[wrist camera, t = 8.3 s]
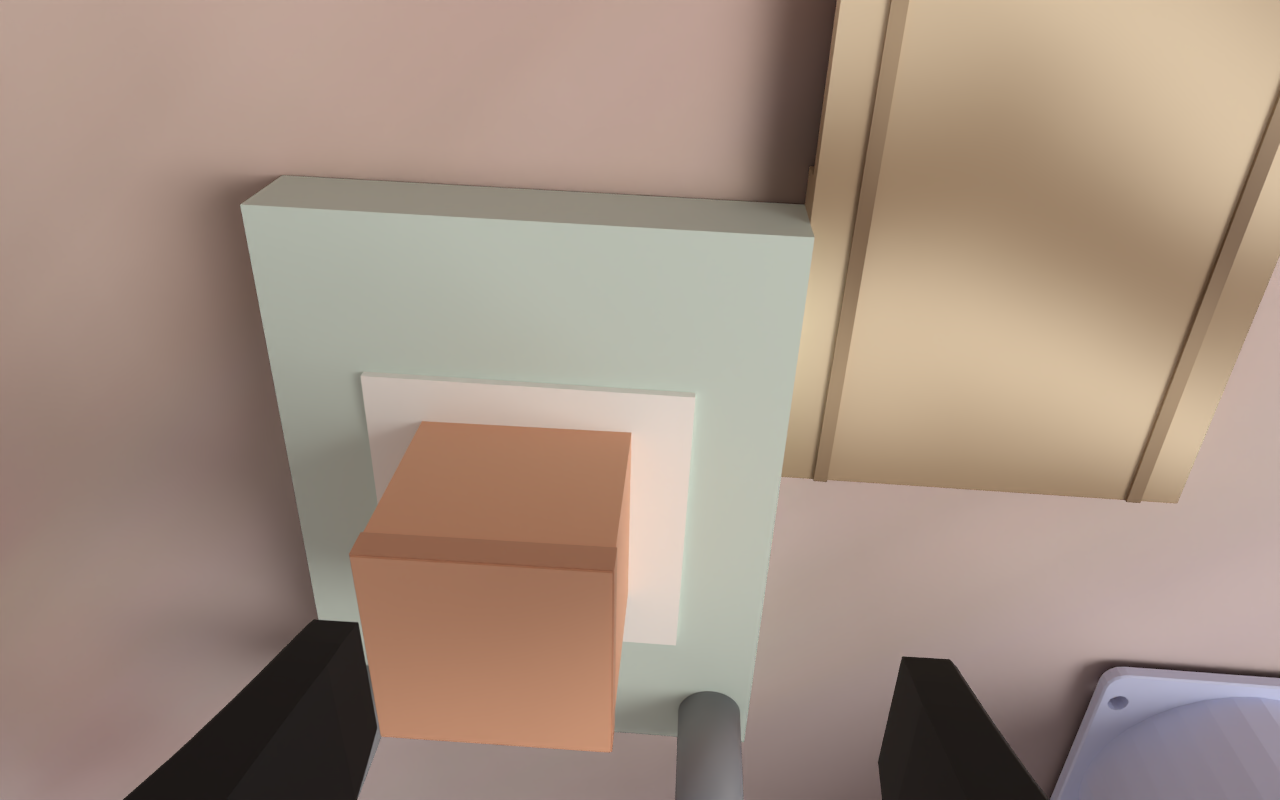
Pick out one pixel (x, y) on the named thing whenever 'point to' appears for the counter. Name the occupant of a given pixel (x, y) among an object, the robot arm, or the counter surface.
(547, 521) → the orange block
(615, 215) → the dock
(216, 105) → the counter surface
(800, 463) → the pallet
